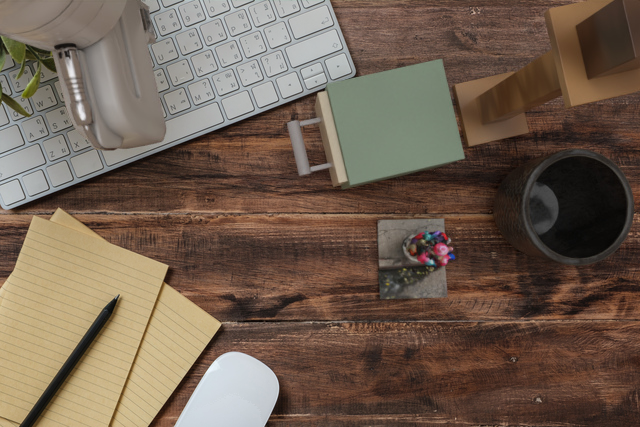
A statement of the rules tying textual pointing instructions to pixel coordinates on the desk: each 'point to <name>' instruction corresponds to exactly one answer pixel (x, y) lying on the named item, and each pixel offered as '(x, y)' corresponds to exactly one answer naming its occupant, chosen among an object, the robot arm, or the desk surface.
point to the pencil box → (611, 39)
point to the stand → (538, 82)
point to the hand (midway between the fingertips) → (143, 27)
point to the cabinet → (395, 122)
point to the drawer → (328, 139)
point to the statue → (413, 258)
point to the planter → (565, 207)
